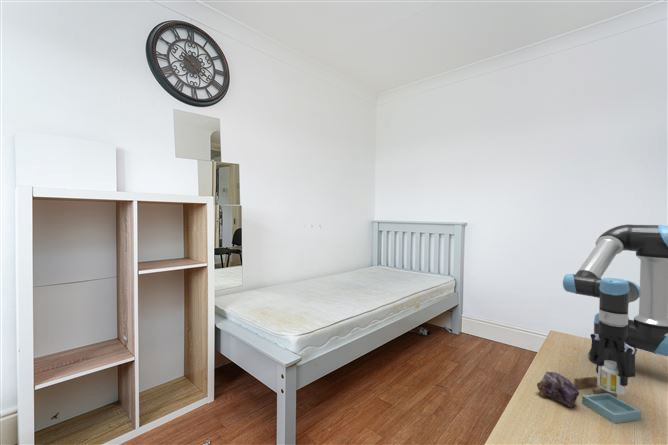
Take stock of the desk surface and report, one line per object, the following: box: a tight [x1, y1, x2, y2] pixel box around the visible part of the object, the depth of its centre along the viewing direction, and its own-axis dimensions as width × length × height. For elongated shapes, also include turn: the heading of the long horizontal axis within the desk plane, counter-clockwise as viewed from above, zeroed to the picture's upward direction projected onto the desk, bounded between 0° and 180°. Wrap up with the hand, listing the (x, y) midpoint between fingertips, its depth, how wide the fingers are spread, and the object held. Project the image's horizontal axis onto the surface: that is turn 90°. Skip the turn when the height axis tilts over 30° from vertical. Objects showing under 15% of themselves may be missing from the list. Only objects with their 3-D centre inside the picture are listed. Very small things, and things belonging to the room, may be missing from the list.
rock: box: [536, 371, 580, 408], centre depth 115 cm, size 12×9×10 cm
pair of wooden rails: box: [573, 375, 618, 398], centre depth 119 cm, size 10×8×4 cm
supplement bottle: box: [600, 360, 619, 393], centre depth 107 cm, size 5×5×10 cm
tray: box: [581, 393, 642, 424], centre depth 108 cm, size 11×11×3 cm
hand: (610, 388), depth 108 cm, fingers closed on supplement bottle, 5 cm apart
